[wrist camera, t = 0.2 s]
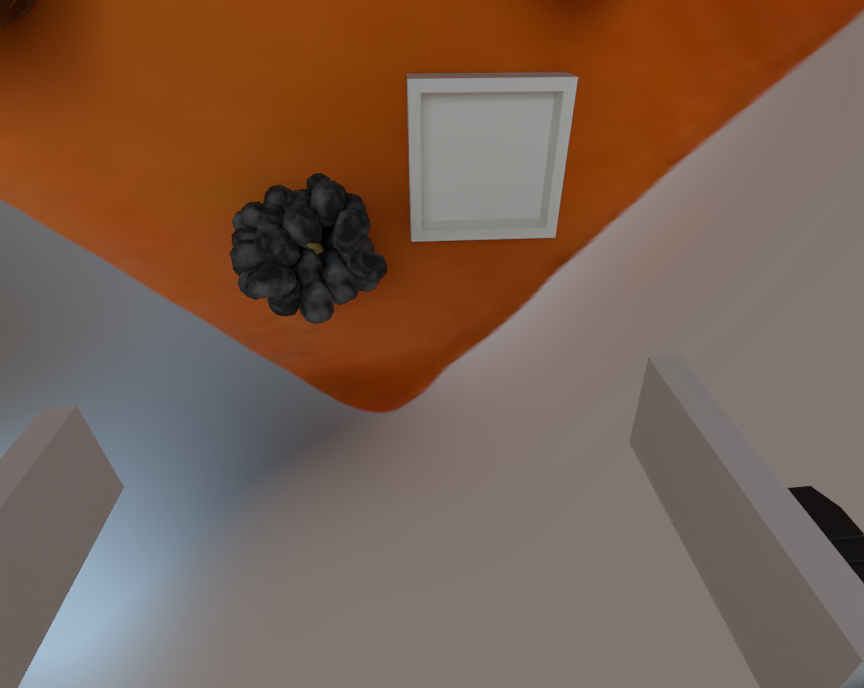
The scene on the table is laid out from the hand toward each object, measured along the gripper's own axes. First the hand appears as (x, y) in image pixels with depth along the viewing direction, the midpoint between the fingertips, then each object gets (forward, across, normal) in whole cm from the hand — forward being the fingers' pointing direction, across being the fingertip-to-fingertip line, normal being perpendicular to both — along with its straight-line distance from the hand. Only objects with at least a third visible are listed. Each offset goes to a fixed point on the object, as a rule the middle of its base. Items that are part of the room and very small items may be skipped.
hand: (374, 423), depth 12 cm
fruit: (+29, -9, -6) cm, 31 cm away
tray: (+29, +7, -2) cm, 30 cm away
